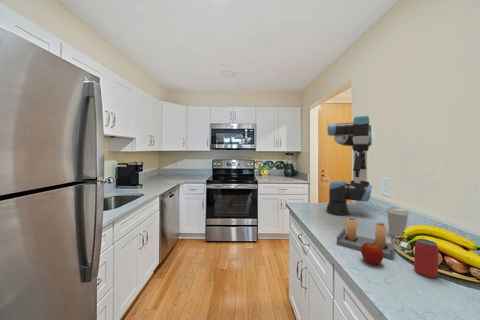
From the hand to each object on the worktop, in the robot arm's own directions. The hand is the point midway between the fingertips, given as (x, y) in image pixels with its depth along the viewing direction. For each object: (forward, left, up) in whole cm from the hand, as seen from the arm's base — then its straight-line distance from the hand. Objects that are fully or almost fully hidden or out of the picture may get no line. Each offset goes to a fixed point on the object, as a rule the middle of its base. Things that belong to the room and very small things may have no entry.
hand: (359, 181), depth 114 cm
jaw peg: (+18, 0, -29) cm, 34 cm away
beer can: (+28, +27, -29) cm, 49 cm away
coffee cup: (-6, +17, -29) cm, 34 cm away
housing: (+18, +6, -29) cm, 35 cm away
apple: (+33, +10, -29) cm, 45 cm away
